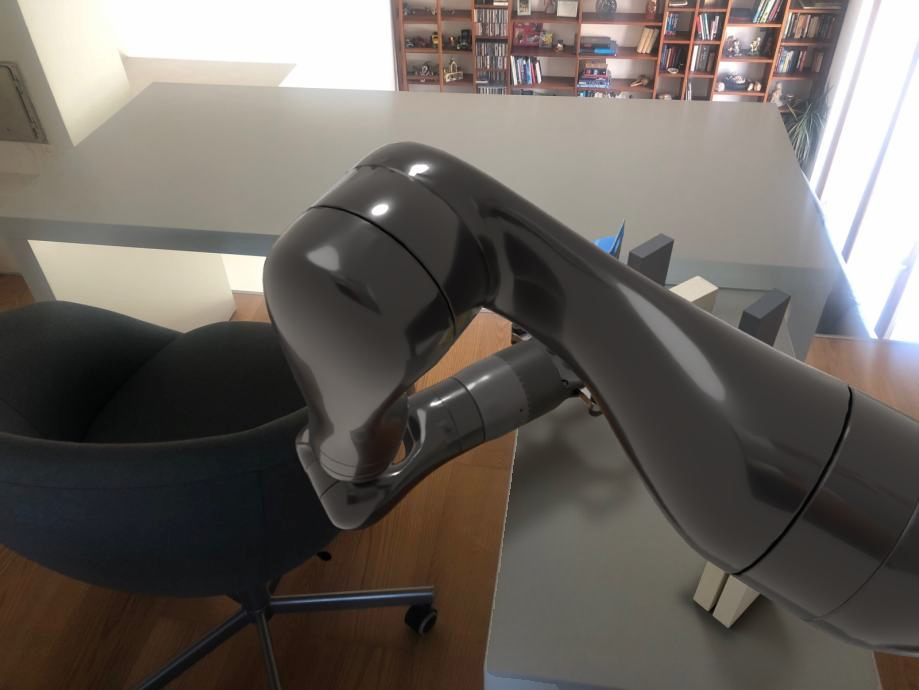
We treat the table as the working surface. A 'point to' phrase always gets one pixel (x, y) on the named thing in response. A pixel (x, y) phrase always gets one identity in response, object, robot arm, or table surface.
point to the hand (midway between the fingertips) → (625, 331)
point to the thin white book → (698, 292)
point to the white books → (723, 594)
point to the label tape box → (612, 242)
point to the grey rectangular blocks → (755, 319)
